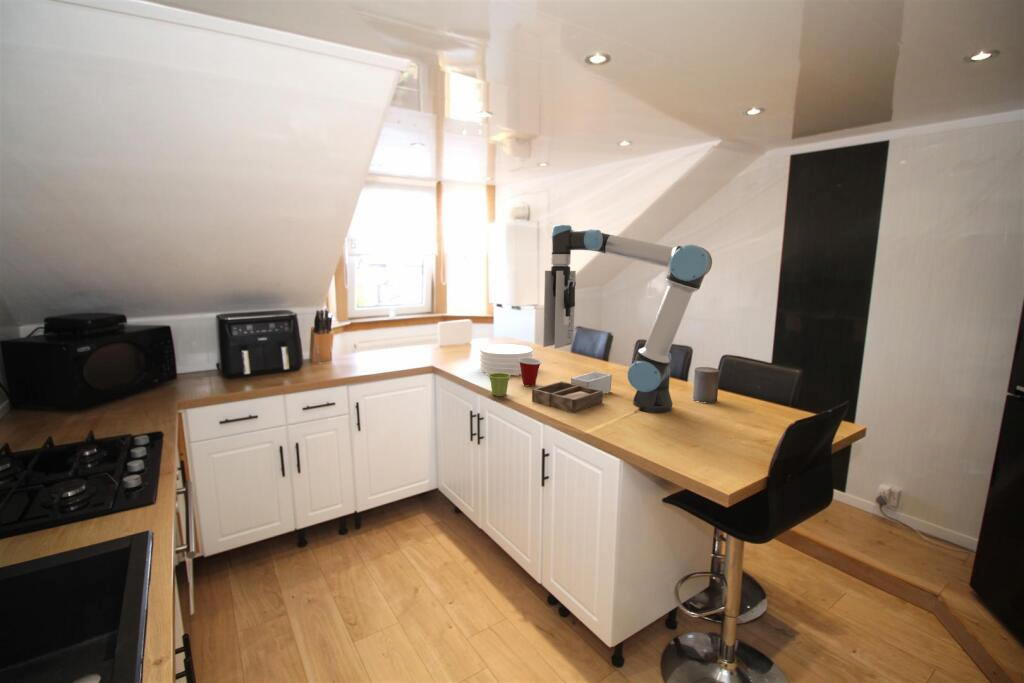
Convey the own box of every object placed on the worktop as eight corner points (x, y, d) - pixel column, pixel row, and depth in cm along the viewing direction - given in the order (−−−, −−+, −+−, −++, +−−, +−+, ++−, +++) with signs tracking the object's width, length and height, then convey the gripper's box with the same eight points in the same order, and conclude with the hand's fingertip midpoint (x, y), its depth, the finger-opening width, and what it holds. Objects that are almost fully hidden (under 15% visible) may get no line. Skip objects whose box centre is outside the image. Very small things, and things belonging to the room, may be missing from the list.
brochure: (555, 348, 178) (557, 270, 173) (543, 347, 182) (544, 270, 177) (573, 344, 189) (575, 270, 185) (561, 342, 193) (563, 270, 188)
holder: (610, 392, 205) (611, 374, 204) (587, 400, 192) (588, 381, 191) (594, 388, 211) (595, 371, 210) (570, 396, 198) (571, 378, 197)
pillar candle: (720, 400, 195) (722, 365, 192) (713, 405, 187) (716, 369, 185) (696, 396, 201) (699, 362, 198) (689, 401, 193) (691, 366, 191)
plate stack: (469, 369, 245) (469, 348, 243) (504, 362, 266) (504, 342, 264) (508, 378, 227) (508, 356, 225) (542, 369, 248) (543, 348, 246)
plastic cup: (537, 388, 209) (538, 363, 207) (515, 386, 212) (515, 361, 210) (543, 383, 219) (544, 358, 217) (522, 381, 222) (522, 356, 220)
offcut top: (595, 400, 184) (595, 395, 183) (571, 406, 175) (571, 401, 175) (580, 395, 190) (580, 391, 189) (556, 401, 181) (556, 396, 181)
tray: (602, 405, 185) (602, 390, 184) (573, 415, 172) (574, 400, 171) (560, 394, 200) (561, 381, 199) (532, 403, 186) (532, 389, 185)
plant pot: (487, 391, 203) (488, 372, 201) (509, 391, 204) (509, 372, 202) (489, 397, 193) (489, 377, 192) (511, 397, 194) (511, 377, 193)
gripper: (586, 265, 177) (584, 325, 180) (548, 265, 190) (547, 321, 193) (574, 265, 171) (572, 327, 175) (536, 265, 184) (535, 322, 188)
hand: (559, 323), depth 184 cm, fingers closed on brochure, 6 cm apart
